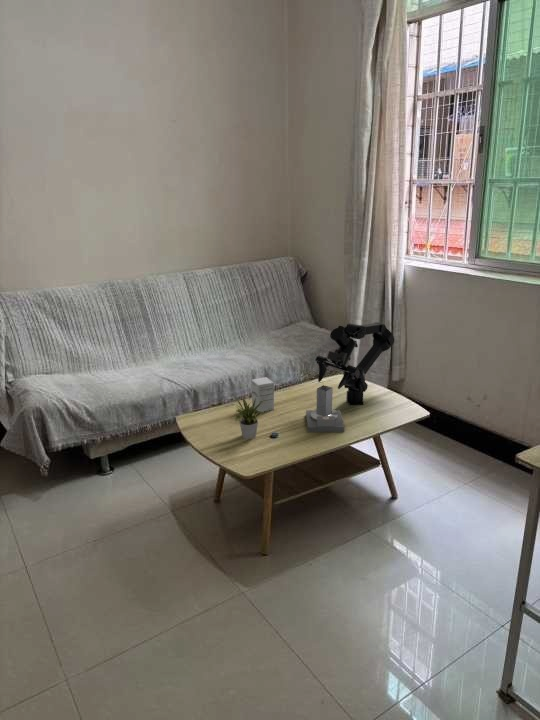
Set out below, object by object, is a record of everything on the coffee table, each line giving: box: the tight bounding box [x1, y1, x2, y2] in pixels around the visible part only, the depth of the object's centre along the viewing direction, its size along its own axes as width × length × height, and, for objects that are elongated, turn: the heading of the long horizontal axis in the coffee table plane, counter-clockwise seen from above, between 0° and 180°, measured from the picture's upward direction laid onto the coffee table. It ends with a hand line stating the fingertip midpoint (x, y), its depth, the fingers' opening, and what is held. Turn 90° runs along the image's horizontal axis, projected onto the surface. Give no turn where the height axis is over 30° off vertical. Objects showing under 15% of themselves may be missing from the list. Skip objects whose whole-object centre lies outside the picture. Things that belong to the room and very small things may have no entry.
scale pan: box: [311, 408, 338, 421], centre depth 225 cm, size 11×11×1 cm
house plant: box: [230, 396, 266, 440], centre depth 211 cm, size 14×14×16 cm
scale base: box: [305, 409, 345, 433], centre depth 223 cm, size 14×16×5 cm
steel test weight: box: [315, 384, 334, 416], centre depth 223 cm, size 4×4×11 cm
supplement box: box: [251, 376, 275, 413], centre depth 236 cm, size 7×7×13 cm
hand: (328, 385), depth 226 cm, fingers open, 9 cm apart
